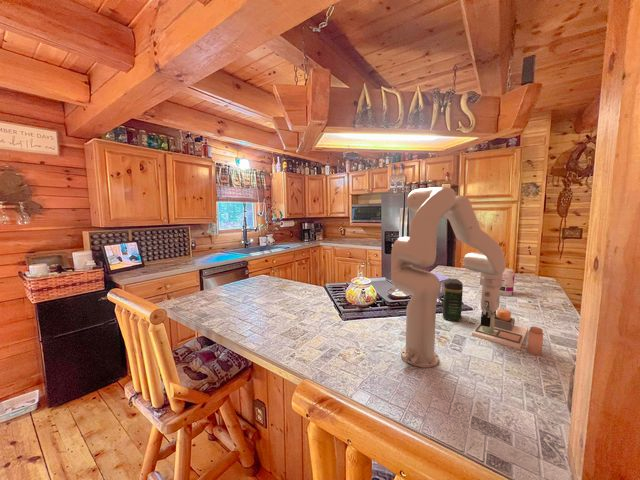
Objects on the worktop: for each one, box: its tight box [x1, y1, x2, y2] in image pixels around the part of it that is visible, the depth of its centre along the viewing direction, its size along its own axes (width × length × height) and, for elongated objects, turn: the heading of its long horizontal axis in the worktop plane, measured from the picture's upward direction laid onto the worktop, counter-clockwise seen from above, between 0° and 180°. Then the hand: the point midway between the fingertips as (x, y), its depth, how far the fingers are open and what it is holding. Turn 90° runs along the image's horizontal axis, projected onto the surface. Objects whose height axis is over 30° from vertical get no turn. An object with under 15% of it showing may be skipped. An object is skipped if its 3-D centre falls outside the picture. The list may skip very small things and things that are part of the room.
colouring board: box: [471, 313, 529, 350], centre depth 110 cm, size 20×16×4 cm
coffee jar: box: [442, 277, 464, 322], centre depth 125 cm, size 10×8×19 cm
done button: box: [496, 308, 512, 322], centre depth 113 cm, size 5×5×4 cm
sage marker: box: [482, 309, 495, 333], centre depth 109 cm, size 4×4×9 cm
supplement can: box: [500, 267, 516, 297], centre depth 156 cm, size 8×8×15 cm
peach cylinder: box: [527, 326, 544, 356], centre depth 95 cm, size 4×4×9 cm
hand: (488, 322), depth 109 cm, fingers open, 9 cm apart
